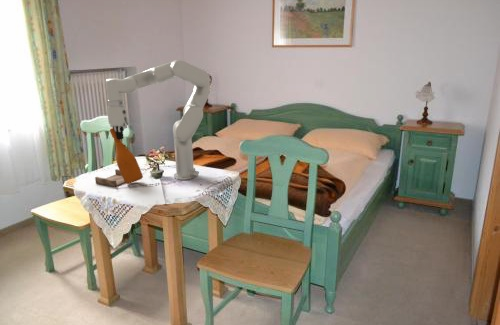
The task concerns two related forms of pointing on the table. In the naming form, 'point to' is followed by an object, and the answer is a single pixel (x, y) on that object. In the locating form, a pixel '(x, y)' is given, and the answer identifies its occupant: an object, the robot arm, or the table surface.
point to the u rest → (111, 180)
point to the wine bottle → (126, 161)
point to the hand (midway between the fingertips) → (120, 138)
